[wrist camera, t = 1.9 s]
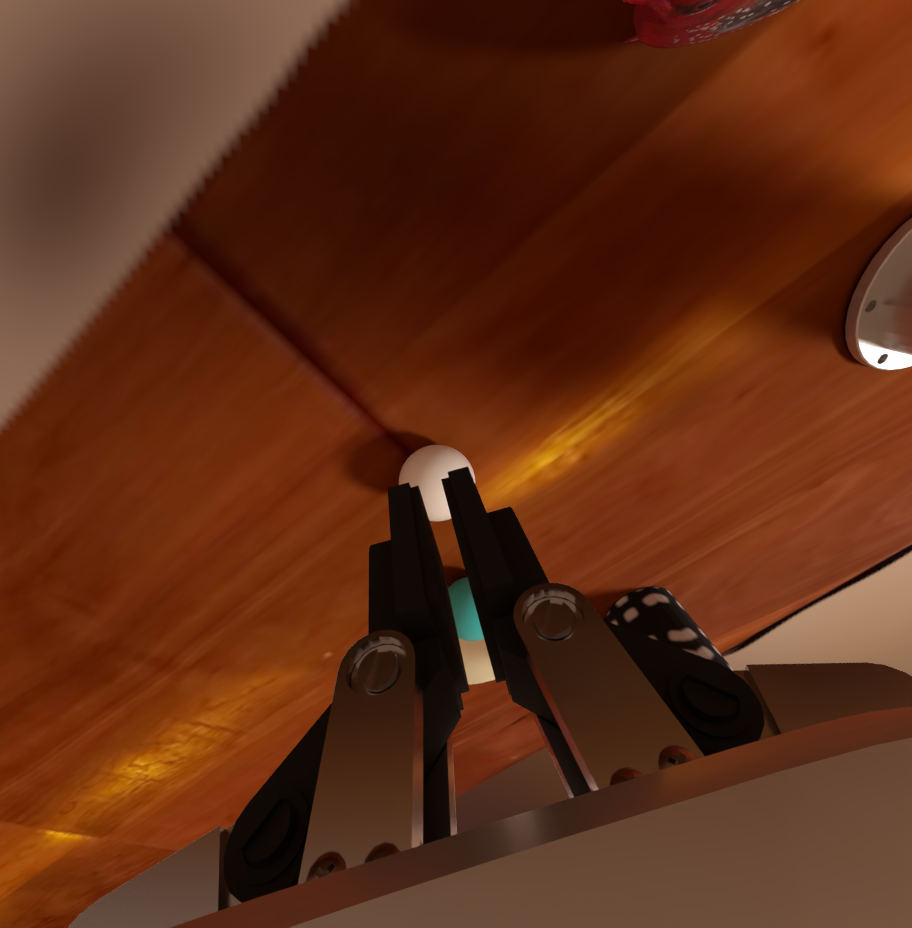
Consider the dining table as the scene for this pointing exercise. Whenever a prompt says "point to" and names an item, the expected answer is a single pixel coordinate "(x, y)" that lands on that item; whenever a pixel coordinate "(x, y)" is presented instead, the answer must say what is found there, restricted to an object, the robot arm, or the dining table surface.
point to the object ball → (465, 611)
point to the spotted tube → (662, 622)
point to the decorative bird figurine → (696, 19)
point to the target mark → (476, 661)
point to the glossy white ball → (433, 476)
